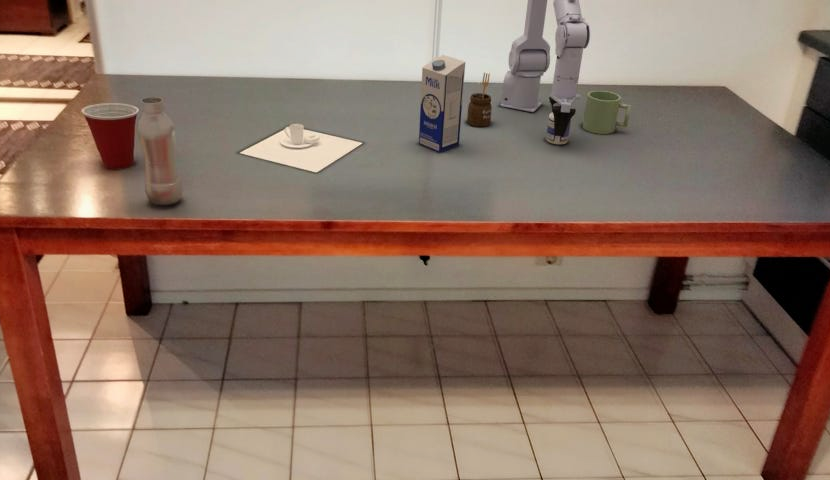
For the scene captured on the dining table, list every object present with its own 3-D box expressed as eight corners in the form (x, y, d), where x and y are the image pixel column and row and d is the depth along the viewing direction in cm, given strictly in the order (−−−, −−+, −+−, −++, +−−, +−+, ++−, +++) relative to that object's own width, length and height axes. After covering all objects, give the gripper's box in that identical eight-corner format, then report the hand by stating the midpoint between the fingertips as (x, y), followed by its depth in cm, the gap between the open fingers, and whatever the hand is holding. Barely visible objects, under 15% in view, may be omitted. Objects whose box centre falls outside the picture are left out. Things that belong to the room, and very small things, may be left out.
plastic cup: (157, 159, 162) (149, 104, 156) (124, 177, 154) (114, 120, 147) (115, 150, 165) (105, 96, 159) (80, 168, 156) (68, 111, 150)
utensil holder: (463, 124, 191) (467, 77, 185) (471, 117, 196) (475, 71, 190) (485, 128, 189) (490, 81, 183) (493, 121, 194) (498, 74, 188)
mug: (579, 130, 192) (584, 97, 188) (586, 120, 199) (591, 88, 194) (622, 138, 189) (629, 105, 184) (628, 128, 195) (635, 96, 191)
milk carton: (459, 145, 179) (466, 60, 168) (440, 152, 174) (445, 66, 164) (437, 137, 183) (442, 53, 172) (418, 143, 178) (422, 58, 168)
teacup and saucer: (324, 141, 176) (324, 124, 174) (305, 152, 170) (305, 135, 167) (292, 134, 179) (291, 117, 177) (272, 144, 173) (271, 127, 170)
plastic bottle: (151, 194, 148) (136, 94, 137) (187, 194, 149) (174, 95, 138) (143, 209, 142) (127, 105, 132) (180, 209, 143) (167, 106, 133)
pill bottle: (567, 137, 187) (572, 102, 182) (568, 145, 182) (573, 110, 177) (545, 136, 187) (550, 100, 182) (545, 143, 182) (551, 108, 178)
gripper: (587, 86, 170) (577, 143, 177) (580, 68, 182) (571, 122, 189) (555, 84, 170) (547, 141, 177) (550, 65, 182) (543, 120, 189)
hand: (558, 131), depth 183 cm, fingers closed on pill bottle, 5 cm apart
